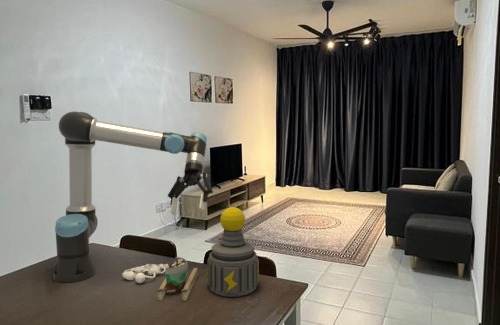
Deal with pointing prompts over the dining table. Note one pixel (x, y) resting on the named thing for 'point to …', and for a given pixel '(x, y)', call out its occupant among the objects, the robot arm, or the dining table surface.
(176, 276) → the food container
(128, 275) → the tangled rod sculpture
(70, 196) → the robot arm
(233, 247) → the decorative lamp
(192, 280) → the birch chute
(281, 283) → the dining table surface
